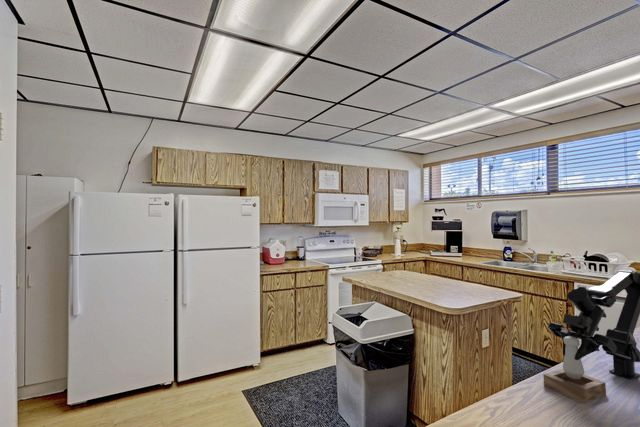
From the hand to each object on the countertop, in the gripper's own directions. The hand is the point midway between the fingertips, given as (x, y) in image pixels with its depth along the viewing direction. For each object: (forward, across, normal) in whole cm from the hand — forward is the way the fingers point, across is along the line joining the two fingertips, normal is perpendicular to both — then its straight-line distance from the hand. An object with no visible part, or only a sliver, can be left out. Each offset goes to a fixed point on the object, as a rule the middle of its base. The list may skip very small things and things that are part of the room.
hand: (569, 357), depth 109 cm
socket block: (+7, 0, +9) cm, 11 cm away
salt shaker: (+4, 0, +6) cm, 7 cm away
